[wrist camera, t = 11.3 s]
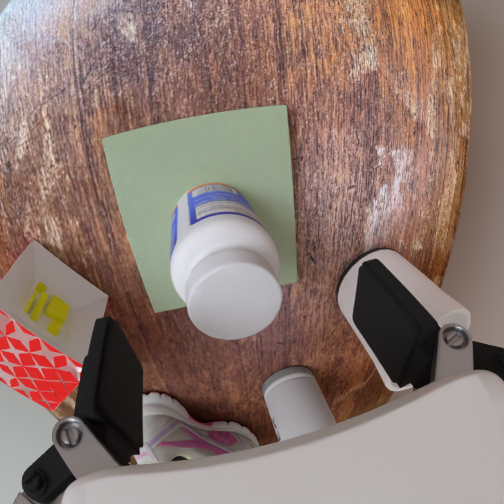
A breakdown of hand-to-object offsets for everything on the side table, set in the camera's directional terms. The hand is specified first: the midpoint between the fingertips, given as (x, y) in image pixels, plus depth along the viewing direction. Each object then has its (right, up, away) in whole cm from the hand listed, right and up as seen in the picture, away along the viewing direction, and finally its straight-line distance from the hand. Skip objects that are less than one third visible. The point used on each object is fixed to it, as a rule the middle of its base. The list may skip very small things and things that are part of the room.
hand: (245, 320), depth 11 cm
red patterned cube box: (-17, -1, +10) cm, 20 cm away
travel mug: (+4, -13, +22) cm, 26 cm away
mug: (+12, -1, +18) cm, 22 cm away
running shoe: (-7, -20, +23) cm, 32 cm away
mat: (-3, +5, +10) cm, 12 cm away
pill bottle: (-3, +5, +10) cm, 11 cm away
